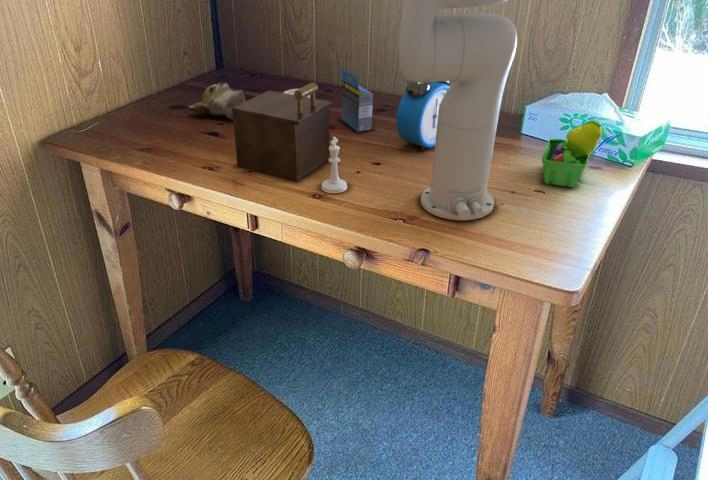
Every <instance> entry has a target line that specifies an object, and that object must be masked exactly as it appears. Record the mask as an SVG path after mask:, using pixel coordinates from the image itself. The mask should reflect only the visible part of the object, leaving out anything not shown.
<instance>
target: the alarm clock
mask: <svg viewBox="0 0 708 480" xmlns="http://www.w3.org/2000/svg"><path fill="white" fill-rule="evenodd" d="M450 84H451V81H443V82H411V81H409V80H408V82H407V83H406V87H405V92H404V93H403V95H402V97H401V99H400V101H399V104H398V107H397V111H396V121H395V123H396V124H395V125H396V130H397V134H398V135H399V137H400V138H401V139H402V140H403V141H405V142H407V143H410V144H413V145H416V146H420V147H421V148H420V151H421V152H423V151H424V149H425V148H427V149H431V148H435V142H436V132H437V122H438V113H439V107H440V103H441V101H442V99H443V97H444V95H445V94H446V92H447V91H448V89H449V88H450V87H451V85H450Z"/></svg>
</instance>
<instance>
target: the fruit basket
mask: <svg viewBox="0 0 708 480" xmlns="http://www.w3.org/2000/svg"><path fill="white" fill-rule="evenodd" d="M602 135H603V129H602V124H601V122H600V121H598V120H596V119H590V120H588V121H587V122H585V123H584V124H583V125H581V126H577V127H575V128H572V129H571V130H570V131H568V133H567V134H566V139H561V138H550V139H548V141H547V143H546V146H545V149H544V152H543V155H542V157H541V162H542V167H543V181H544V182H543V183H544V184H546V185H547V184H549V185H550V184H551V185H554V186H560V187H569V188H574V187H575V186H576V183H577V182H578V180H579V178H580V176H581V175H582V172H583V171H584V170H585V168H586V167H587V165H588V161H589V157H590V155H591V154H592V153H593V152H594V151H595V150H596V148H597V146H598V143H599V141H600V138H601V137H602Z"/></svg>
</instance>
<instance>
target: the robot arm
mask: <svg viewBox="0 0 708 480" xmlns="http://www.w3.org/2000/svg"><path fill="white" fill-rule="evenodd" d="M508 1H509V0H402V1H401V3H402V4H401V14H400V26H399V35H398V36H399V37H398V51H397V52H398V53H397V54H398V55H397V56H398V57H397V61H398V69H399V71H400V74H401V76H402V77H403V79H405V80H406V81H408V82H409V81H411V82H443V81H450V82H453V83H452V84H451V85H450V88H449V89H448V91H447V92H446V94H445V95H444V97H443V99H442V101H441V103H440V107H439V113H438V122H437V132H436V142H435V146H434V153H433V163H432V172H431V183H430V186H429V187H427V188H426V189H424V190H423V191H422V193H421V196H420V204H421V206H422V208H423V209H424V210H425V212H428V213H429V214H431V215H433V216H435V217H439V218H442V219H445V220H450V221H473V220H478V219H481V218H484V217H486V216H488V215H489V214H490V213H492V212H493V210H494V207H495V206H494V205H495V199H494V197H493V196H492V194H491V193H490V192H489V191H487V190H488V185H489V179H490V172H491V166H492V160H493V154H494V147H495V140H496V136H497V135H496V134H497V129H498V122H499V117H500V110H501V106H502V100H503V95H504V91H505V87H506V83H507V80H508V77H509V73H510V70H511V67H512V64H513V61H514V59H515V56H516V52H517V45H518V31H517V28H516V26H515V24H514V23H513V21H512V20H510V18H508V17H506V16H505V15H502V14H499V13H491V12H478V13H477V12H473V13H456V14H438V13H439V12H440V11H442V10H443V9H463V8H464V9H465V8H477V7H478V8H482V7H492V6H498V5H502V4H505V3H506V2H508Z"/></svg>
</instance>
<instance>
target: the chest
mask: <svg viewBox="0 0 708 480" xmlns="http://www.w3.org/2000/svg"><path fill="white" fill-rule="evenodd" d="M232 123H233V133H234V143H235V155H236V164H237V167H239V168H243V169H247V170H251V171H254V172H259V173H262V174H265V175H270V176H273V177H277V178H281V179H285V180H289V181H293V182H299V181H300V180H302V179H303V178H305V177H306V176H308V175H309V174H310V173H312V172H313V171H315V170H316V169H318V168H319V167H321V166H322V165H324V164H326V163H327V162H329V158H330V156H331V154H330V151H329V147H330V146H331V144H330V142H331V141H330V140H331V139H330V133H331V132H330V108H328V109H327V110H325V111H323V112H321V113H320V114H318V115H316V116H314V117H313V118H311V119H309V120H307V121H306V122H304V123H302V124H300V125H299V126H298V125H293V124H289V123H284V122H279V121H274V120H269V119H265V118H260V117H255V116H250V115H246V114H241V113H236V112H233V119H232Z"/></svg>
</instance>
